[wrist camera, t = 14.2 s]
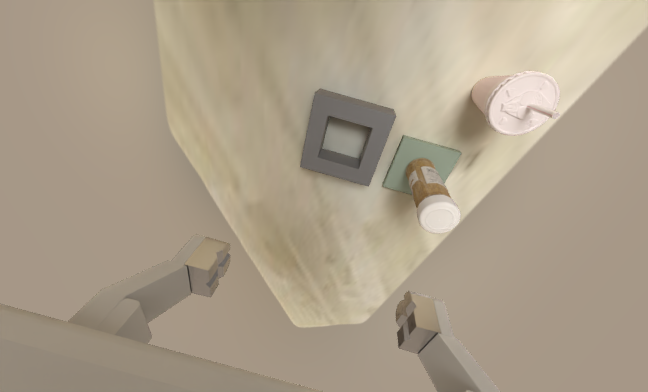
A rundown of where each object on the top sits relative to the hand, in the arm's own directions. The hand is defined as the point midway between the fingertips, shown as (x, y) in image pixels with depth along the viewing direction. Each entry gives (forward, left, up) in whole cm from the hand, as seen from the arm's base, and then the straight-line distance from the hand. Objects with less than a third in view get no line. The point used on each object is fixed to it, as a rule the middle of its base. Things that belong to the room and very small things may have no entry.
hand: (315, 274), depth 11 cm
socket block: (+4, 0, -32) cm, 32 cm away
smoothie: (-7, +16, -32) cm, 37 cm away
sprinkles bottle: (+6, +13, -31) cm, 34 cm away
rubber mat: (+6, +13, -32) cm, 35 cm away
